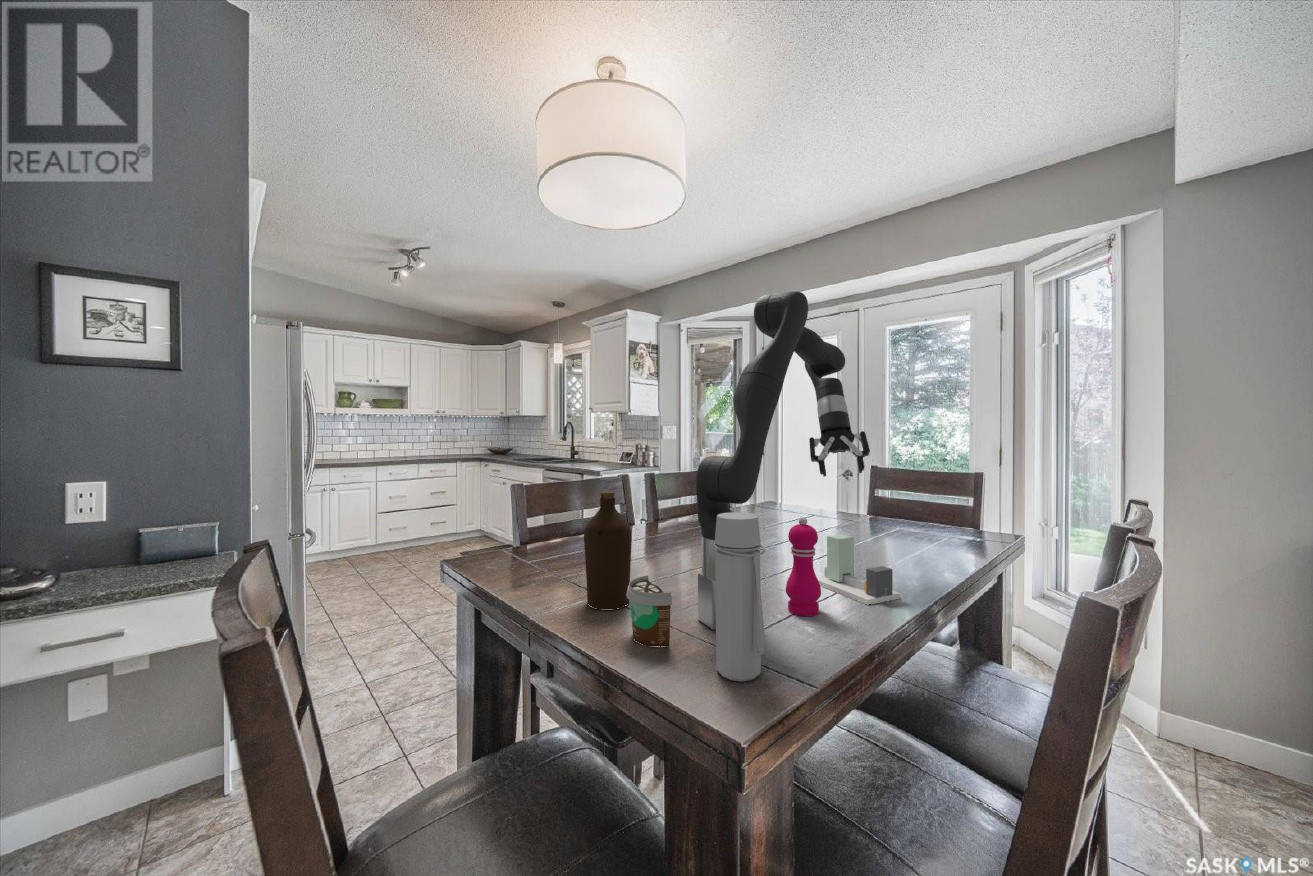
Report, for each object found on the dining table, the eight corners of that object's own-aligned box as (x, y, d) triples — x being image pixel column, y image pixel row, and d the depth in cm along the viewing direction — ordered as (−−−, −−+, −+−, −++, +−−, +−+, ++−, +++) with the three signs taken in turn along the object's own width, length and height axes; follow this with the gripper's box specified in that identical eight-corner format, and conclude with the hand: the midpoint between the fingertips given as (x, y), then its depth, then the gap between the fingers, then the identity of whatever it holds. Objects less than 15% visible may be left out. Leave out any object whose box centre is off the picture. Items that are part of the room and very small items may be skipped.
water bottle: (704, 669, 80) (703, 514, 80) (741, 657, 84) (740, 510, 84) (743, 695, 72) (742, 523, 72) (782, 680, 76) (781, 518, 76)
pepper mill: (825, 617, 102) (825, 520, 102) (790, 617, 102) (789, 520, 102) (815, 605, 109) (815, 514, 109) (782, 605, 109) (781, 514, 109)
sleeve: (838, 582, 120) (838, 539, 120) (827, 577, 124) (826, 535, 124) (854, 579, 122) (853, 537, 122) (841, 575, 126) (841, 534, 125)
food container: (618, 629, 97) (617, 578, 97) (647, 624, 99) (647, 574, 99) (639, 656, 85) (639, 598, 85) (672, 650, 88) (672, 593, 87)
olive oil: (638, 608, 108) (636, 493, 108) (589, 614, 105) (588, 495, 104) (625, 593, 118) (624, 488, 118) (580, 598, 115) (579, 490, 114)
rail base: (867, 605, 109) (867, 573, 109) (813, 583, 124) (813, 555, 124) (900, 598, 113) (900, 567, 113) (844, 578, 128) (844, 551, 128)
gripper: (804, 413, 130) (812, 472, 124) (862, 405, 126) (874, 465, 120) (805, 425, 137) (813, 481, 130) (861, 418, 133) (872, 475, 126)
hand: (842, 473), depth 125 cm, fingers open, 8 cm apart
